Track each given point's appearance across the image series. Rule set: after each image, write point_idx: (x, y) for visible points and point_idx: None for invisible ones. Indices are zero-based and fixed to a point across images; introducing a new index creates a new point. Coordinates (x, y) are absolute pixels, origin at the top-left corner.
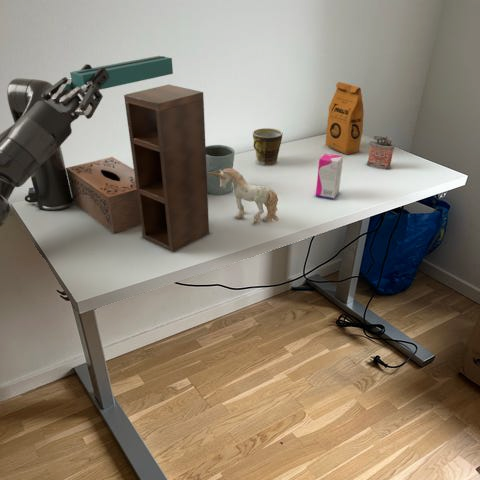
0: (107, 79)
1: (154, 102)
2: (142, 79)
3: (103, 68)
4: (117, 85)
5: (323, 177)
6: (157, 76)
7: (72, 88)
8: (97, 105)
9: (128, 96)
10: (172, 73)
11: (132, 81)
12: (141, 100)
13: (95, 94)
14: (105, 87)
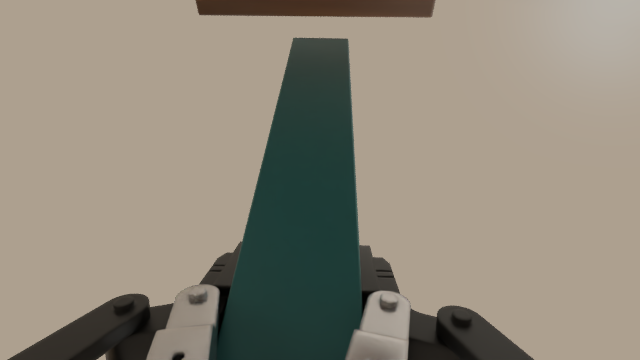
0: (218, 258)
1: (227, 14)
2: (278, 99)
3: None
4: (259, 174)
5: None
6: (286, 66)
7: (411, 345)
8: (17, 358)
9: (400, 14)
10: (293, 39)
11: (273, 125)
12: (311, 10)
13: (107, 356)
14: (245, 231)
